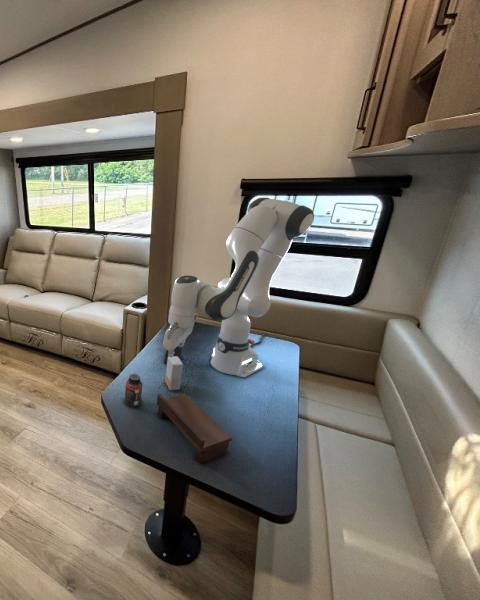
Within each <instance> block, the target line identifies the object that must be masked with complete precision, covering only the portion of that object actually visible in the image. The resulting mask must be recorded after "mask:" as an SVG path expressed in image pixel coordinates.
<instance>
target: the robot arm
mask: <svg viewBox="0 0 480 600" xmlns="http://www.w3.org/2000/svg"><path fill="white" fill-rule="evenodd" d="M314 220H315V214H314V210H313V209H311V208H310V207H309V206H305V205H302V204H298V203H295V202H292V201H288V200H282V199H275V198H270V197H258V198H256V199H254V200H253V201H252V202H251V203H250V204H248V207H247V209H246V214H245V215H243V217H241V219H240V220H239V221H238V223H237V224H236V226H235V227H234V228H233V229H232V230H231V233H230V234H229V235H228V237H227V240H226V242H225V247H226V250H227V253H228V254H229V256H230V257H231V258H232V260H233V261H234V263H235V266H234V267H235V268H234V270H233V271H232V273H231V275H230V277H225V278H223V279H222V280H220V282H219V283H218V285H217V287H215V286H214V285H212V284H210V283H208V282H204V281H202V280H200V279H199V278H198V277H197V276H194V275H186V274H185V275H181V276H179V277H178V278H176V280H175V281H174V283H173V286H172V291H171V297H170V302H171V306H170V308H169V311H168V319H167V322H168V324H169V325H170V326H169V327H168V328H167V329H166V330H165V333H164V336H163V342H162V349H163V350H165V351H166V350H168V356H169V357H171V358H172V357H173V356H174V349H175V348H176V347H177V346H178V347H180V348H181V349H182V348H184V346H185V343H186V340H187V338H188V337H189V336H190V335H191V334H192V332H193V330H194V326H195V321H196V319H197V317H198V313H196V310H200V311H201V312H203V313H204V314H206V315H207V316H208V317H209V318H211V320H213V321H216V322H221V325H220V332H219V333H218V336H217V341H216V344H215V347H213V352H212V354H211V360H210V365H211V366H212V367H213V368H214V369H215V370H216V371H218V372H220V373H223V374H227V375H229V376H230V375H231V376H237V377H240V378H247V377H248V376H250V375H252V374H254V373H256V372H257V371H259V370H261V369H263V367H264V365H263V363H262V362H261V361H260V360H259V354H258V353H257V351H256V350H254V349H253V348H252V347H254V346H256V345H259V344H261V343H262V342H263V338H264V337H265V336H268V335H269V334H268V333H267V332H264V333H263V334H262V335H261V337H260V340H259V341H257V342H256V341H255V340H254V339H252V338H249V336H250V332H251V329H252V328H251V327H252V323H251V320H250V318H249V316H250V317H253V318H259V317H260V318H261V317H263V316H264V315H266V314H267V313H268V312H269V310H270V308H271V306H272V301H271V297H270V287H271V283H272V279H273V277H274V275H275V273H276V272H277V270H278V268H279V266H280V265H281V263H282V261H283V260H284V259H285V256H286V255H287V253H288V251H289V249H290V248H291V245H292V243H293V240H295V239H296V238H299V237H301V236H303V235H305V234H306V233H307V232H309V230H310V228H311V226H312V225H313V223H314Z"/></svg>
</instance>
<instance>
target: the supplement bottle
mask: <svg viewBox="0 0 480 600" xmlns="http://www.w3.org/2000/svg"><path fill="white" fill-rule="evenodd" d="M142 393H143V382H142V380H141V375H139V374H137V373H131V374H129V375H128V379H127V380H126V381H125V393H124V402H125V404H126V405H127V406H129V407H132V408H133V407H134V408H135V407H138V406H140V405H141V402H142Z"/></svg>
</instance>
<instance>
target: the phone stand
mask: <svg viewBox="0 0 480 600" xmlns="http://www.w3.org/2000/svg"><path fill="white" fill-rule="evenodd" d="M181 355H182V348H180V347H178V346H177V347H176V348H175V349H174V356H173V357H175V356H178V358H179V359H180V360H181ZM168 357H169V356H168V350H165V357H164V361H163V362H164V364H166V365H167V360H168Z"/></svg>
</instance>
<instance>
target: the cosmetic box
mask: <svg viewBox="0 0 480 600" xmlns="http://www.w3.org/2000/svg"><path fill="white" fill-rule="evenodd" d="M183 367H184V364H183V362H182V361H181V358H180V359H179V358H178V356H175V357H172V358H171V357H168V360H167V364H166V369H165V376H164V377H165V378H164V382H165V384H166V385H167V387H168V390H169V391H180V389H181V384H182V383H181V382H182V375H183Z"/></svg>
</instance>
